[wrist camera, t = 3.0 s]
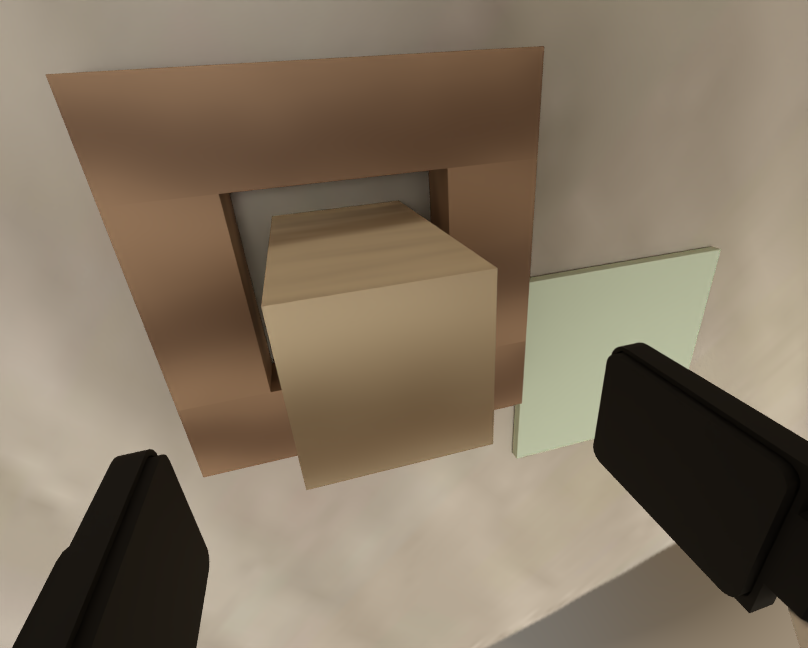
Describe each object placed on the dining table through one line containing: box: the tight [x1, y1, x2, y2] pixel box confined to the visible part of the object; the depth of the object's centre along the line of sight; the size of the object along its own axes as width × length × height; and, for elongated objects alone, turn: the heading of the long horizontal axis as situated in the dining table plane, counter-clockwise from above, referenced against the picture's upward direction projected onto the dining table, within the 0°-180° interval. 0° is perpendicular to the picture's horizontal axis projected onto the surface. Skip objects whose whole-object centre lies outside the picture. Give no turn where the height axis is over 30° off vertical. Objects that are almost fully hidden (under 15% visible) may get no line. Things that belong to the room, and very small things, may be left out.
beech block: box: [261, 201, 498, 490], centre depth 15 cm, size 6×6×10 cm
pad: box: [512, 247, 721, 459], centre depth 26 cm, size 12×12×1 cm
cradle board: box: [46, 46, 544, 477], centre depth 18 cm, size 16×16×2 cm
